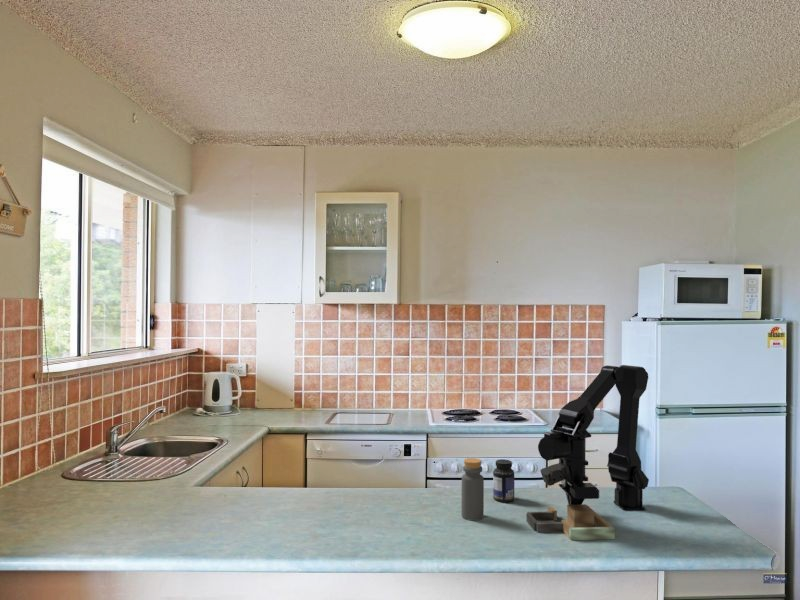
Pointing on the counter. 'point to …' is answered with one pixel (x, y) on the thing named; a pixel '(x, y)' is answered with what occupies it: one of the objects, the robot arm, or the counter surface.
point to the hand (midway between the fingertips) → (573, 514)
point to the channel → (569, 526)
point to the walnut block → (580, 515)
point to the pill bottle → (503, 481)
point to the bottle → (472, 490)
